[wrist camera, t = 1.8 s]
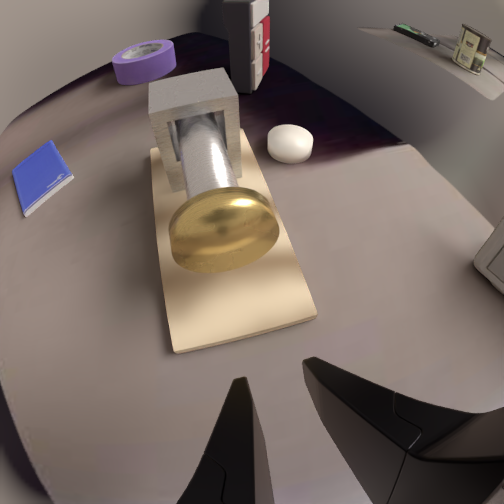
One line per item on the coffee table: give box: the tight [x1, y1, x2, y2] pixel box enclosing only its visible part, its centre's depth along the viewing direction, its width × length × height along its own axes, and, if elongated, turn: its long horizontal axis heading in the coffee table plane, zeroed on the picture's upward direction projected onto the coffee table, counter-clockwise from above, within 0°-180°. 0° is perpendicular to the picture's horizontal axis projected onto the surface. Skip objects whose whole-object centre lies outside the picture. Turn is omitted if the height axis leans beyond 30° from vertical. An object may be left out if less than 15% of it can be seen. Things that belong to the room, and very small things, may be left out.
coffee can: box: [452, 24, 492, 75], centre depth 52 cm, size 10×10×14 cm
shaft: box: [168, 112, 280, 273], centre depth 22 cm, size 18×7×7 cm, turn 15°
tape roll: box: [112, 40, 176, 85], centre depth 44 cm, size 12×12×5 cm
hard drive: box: [12, 140, 74, 217], centre depth 32 cm, size 2×8×12 cm
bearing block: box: [149, 68, 242, 193], centre depth 26 cm, size 6×7×9 cm
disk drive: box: [393, 24, 440, 48], centre depth 66 cm, size 10×3×15 cm
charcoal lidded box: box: [222, 0, 270, 94], centre depth 35 cm, size 11×4×15 cm, turn 166°
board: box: [150, 129, 318, 354], centre depth 27 cm, size 23×11×1 cm, turn 15°
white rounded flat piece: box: [268, 125, 313, 164], centre depth 32 cm, size 5×5×2 cm
